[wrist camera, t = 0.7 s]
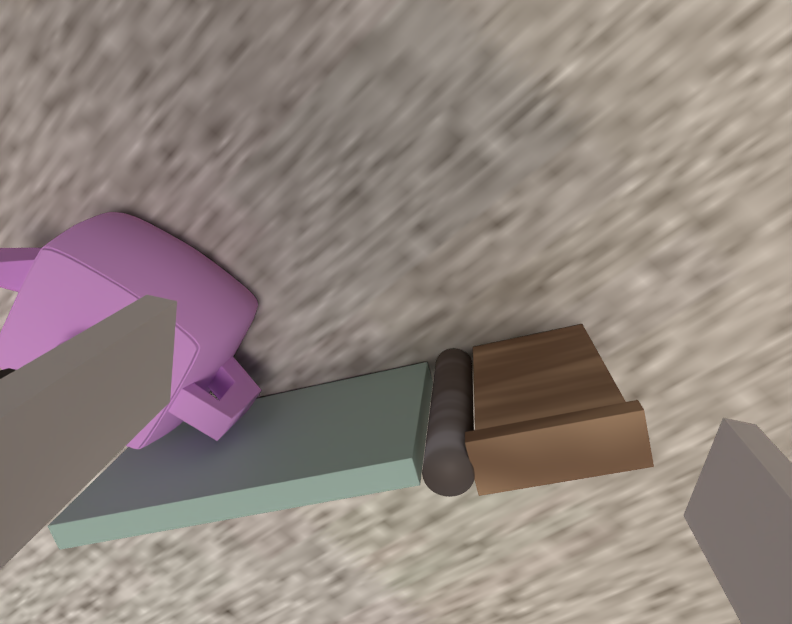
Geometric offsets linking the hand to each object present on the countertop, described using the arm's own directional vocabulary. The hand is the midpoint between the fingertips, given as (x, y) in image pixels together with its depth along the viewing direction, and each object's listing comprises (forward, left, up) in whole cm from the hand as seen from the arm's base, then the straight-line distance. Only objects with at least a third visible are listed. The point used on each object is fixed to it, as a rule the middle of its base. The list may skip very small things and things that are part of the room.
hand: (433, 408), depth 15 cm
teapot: (0, -20, -25) cm, 32 cm away
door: (+10, -14, -24) cm, 29 cm away
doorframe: (+9, +2, -25) cm, 26 cm away
